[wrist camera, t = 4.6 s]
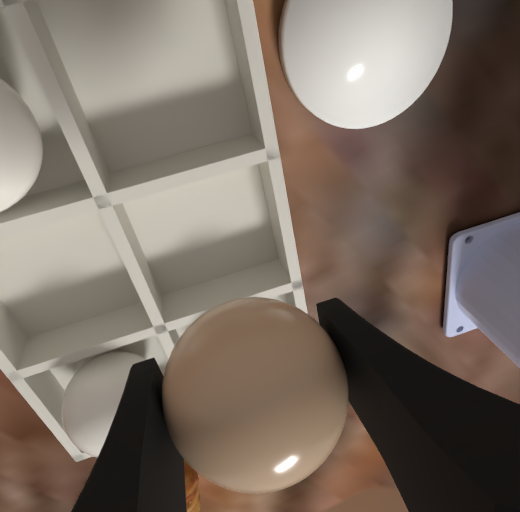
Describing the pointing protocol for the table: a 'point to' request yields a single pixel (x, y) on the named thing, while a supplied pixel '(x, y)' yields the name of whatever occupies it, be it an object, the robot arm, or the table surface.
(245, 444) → the brown egg
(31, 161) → the white egg
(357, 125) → the saucer
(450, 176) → the table surface
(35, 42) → the egg carton
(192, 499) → the pastry
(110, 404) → the white egg
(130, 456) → the robot arm
